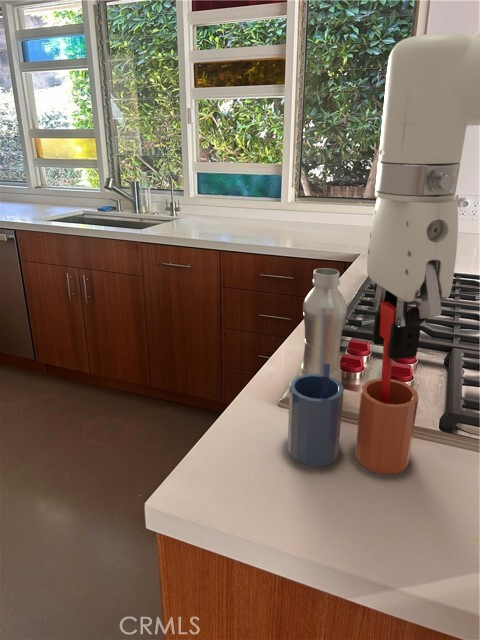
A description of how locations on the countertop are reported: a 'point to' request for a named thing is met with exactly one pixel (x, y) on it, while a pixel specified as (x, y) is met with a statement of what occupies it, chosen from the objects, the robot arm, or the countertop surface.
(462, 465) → the countertop surface
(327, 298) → the silver bottle
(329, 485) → the countertop surface
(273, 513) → the countertop surface
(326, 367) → the navy spoon
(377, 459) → the terracotta cup
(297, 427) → the blue cup
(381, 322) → the red spatula
